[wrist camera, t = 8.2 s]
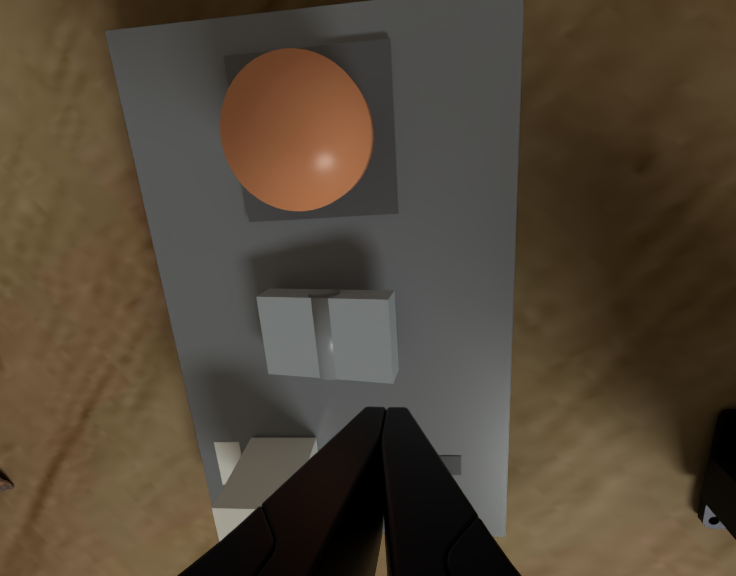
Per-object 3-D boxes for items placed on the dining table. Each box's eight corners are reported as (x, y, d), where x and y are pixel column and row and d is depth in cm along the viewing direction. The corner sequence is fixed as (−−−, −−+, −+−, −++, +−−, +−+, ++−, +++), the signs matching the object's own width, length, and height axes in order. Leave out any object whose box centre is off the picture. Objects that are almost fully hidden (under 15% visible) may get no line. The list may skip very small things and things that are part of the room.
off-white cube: (316, 437, 19) (292, 509, 15) (323, 492, 20) (302, 573, 16) (251, 437, 19) (211, 508, 15) (260, 491, 20) (225, 570, 16)
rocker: (395, 289, 15) (387, 300, 14) (399, 368, 16) (392, 385, 15) (270, 287, 17) (254, 297, 15) (281, 360, 18) (267, 375, 16)
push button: (372, 60, 14) (364, 40, 11) (380, 197, 15) (375, 206, 13) (242, 73, 14) (207, 56, 12) (261, 205, 15) (233, 215, 13)
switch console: (506, 8, 15) (526, -22, 13) (494, 495, 22) (506, 542, 19) (147, 48, 17) (98, 28, 14) (236, 491, 23) (214, 534, 21)
